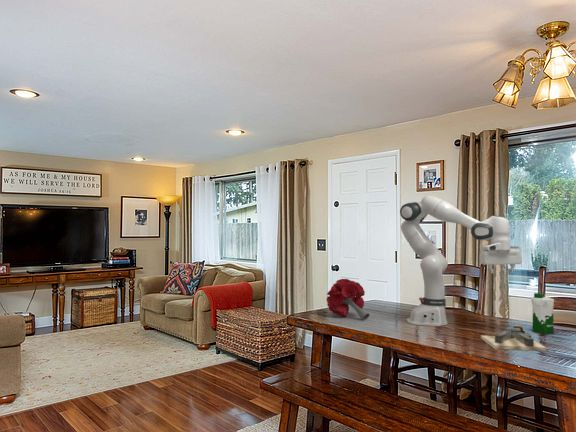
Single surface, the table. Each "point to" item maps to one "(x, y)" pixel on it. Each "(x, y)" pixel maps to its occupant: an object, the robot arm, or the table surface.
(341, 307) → the bouquet
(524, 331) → the burger
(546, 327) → the milk carton
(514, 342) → the board
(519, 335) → the tongs fixed
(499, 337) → the tongs arm
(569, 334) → the table surface
